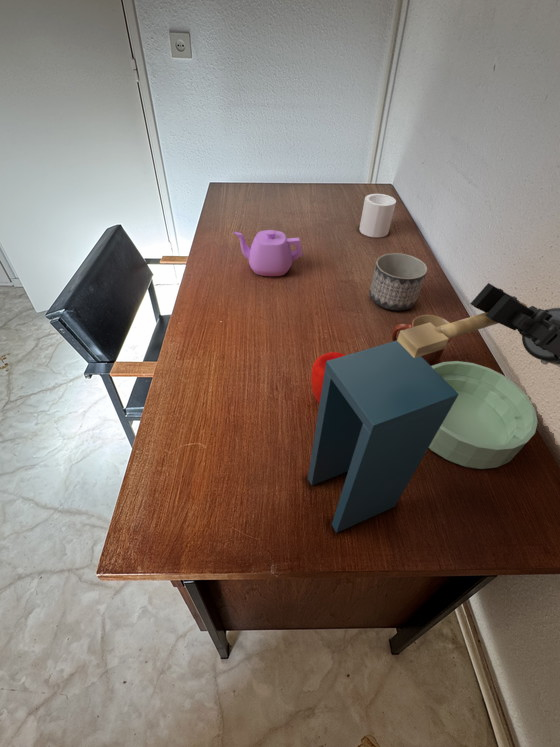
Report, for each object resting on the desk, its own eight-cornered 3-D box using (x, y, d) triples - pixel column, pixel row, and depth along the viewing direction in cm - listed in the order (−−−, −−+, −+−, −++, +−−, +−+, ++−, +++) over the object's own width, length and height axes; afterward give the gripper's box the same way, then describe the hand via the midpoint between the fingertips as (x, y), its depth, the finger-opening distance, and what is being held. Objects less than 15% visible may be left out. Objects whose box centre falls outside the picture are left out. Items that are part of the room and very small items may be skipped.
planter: (371, 283, 106) (378, 249, 99) (416, 291, 104) (427, 257, 97) (365, 308, 98) (373, 273, 90) (414, 317, 96) (427, 282, 88)
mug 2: (369, 218, 137) (375, 188, 129) (396, 225, 133) (403, 195, 126) (354, 232, 129) (359, 200, 121) (381, 240, 125) (389, 208, 118)
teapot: (237, 255, 116) (235, 219, 108) (301, 257, 116) (303, 222, 108) (232, 278, 107) (230, 241, 99) (302, 280, 107) (304, 243, 99)
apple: (342, 423, 72) (351, 386, 64) (301, 407, 74) (304, 369, 66) (356, 393, 77) (366, 355, 69) (318, 378, 80) (323, 340, 72)
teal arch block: (395, 506, 60) (459, 394, 40) (336, 533, 57) (373, 425, 37) (362, 456, 67) (403, 338, 46) (307, 478, 63) (326, 361, 43)
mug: (438, 353, 86) (453, 318, 79) (440, 379, 80) (457, 344, 73) (385, 344, 88) (396, 309, 81) (384, 369, 82) (395, 334, 75)
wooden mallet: (511, 306, 45) (517, 295, 44) (531, 320, 43) (538, 309, 42) (396, 340, 40) (400, 329, 39) (414, 358, 38) (418, 347, 37)
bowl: (542, 447, 69) (564, 425, 64) (455, 488, 63) (472, 466, 58) (464, 373, 82) (477, 350, 77) (385, 401, 76) (394, 377, 71)
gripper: (583, 392, 51) (517, 372, 36) (501, 329, 60) (421, 294, 45) (634, 350, 47) (583, 310, 33) (538, 290, 56) (465, 238, 42)
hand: (489, 301), depth 39 cm, fingers closed on wooden mallet, 1 cm apart
